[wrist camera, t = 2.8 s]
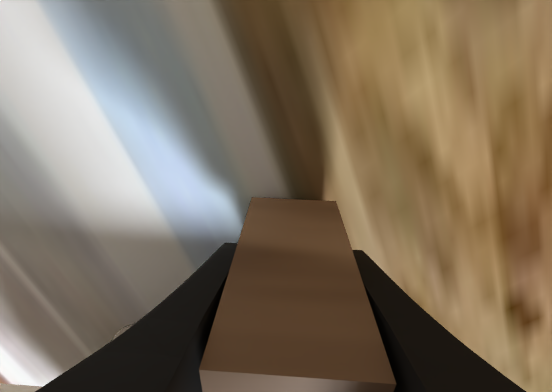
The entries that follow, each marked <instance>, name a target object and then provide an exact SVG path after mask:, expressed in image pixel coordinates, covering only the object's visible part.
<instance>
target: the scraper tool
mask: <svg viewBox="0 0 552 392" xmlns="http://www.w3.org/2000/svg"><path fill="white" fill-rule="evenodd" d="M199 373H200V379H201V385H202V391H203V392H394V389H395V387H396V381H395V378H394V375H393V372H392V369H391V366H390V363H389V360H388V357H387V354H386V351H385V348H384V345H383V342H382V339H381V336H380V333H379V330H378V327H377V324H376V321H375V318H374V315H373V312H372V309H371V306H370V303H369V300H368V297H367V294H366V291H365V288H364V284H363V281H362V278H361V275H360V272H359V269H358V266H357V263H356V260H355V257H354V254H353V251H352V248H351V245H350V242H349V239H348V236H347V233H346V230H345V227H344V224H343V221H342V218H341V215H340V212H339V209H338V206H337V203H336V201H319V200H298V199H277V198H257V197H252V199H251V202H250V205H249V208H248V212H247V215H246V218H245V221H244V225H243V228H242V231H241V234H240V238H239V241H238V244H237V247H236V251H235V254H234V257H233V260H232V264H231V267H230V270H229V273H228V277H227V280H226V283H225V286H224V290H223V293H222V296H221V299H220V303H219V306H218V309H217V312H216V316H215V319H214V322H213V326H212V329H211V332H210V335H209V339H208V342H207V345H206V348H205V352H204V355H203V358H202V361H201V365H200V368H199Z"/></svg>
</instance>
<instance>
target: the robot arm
mask: <svg viewBox="0 0 552 392" xmlns="http://www.w3.org/2000/svg"><path fill="white" fill-rule="evenodd" d="M236 247H237V243H224V244H223V245H222V246H221V247H220V248H219V249H218V250H217V251H216V252H215V253H214V254H213V255H212V256H211V257H210V258H209V259H208V260H207V261H206V262H205V263H204V264H203V265H202V266H201V267H200V268H199V269H198V270H197V271H196V272H195V273H194V274H193V275H191V276H190V277H189V278H188V279H187V280H186V281H185V282H184V283H183V284H182V285H181V286H180V287H179V288H177V289H176V290H175V291H174V292H173V293H172V294H171V295H169V296H168V297H167V298H166V299H165V300H163V301H162V302H161V303H160V304H159V305H158V306H156V307H155V308H154V309H153V310H152V311H150V312H149V313H148V314H147V315H146V316H144V317H143V318H142V319H140V320H139V321H138V322H137V323H135V324H134V325H133V326H131V327H130V328H129V329H127V330H126V331H125V332H123V333H122V334H121V335H119V336H118V337H117V338H115V339H114V340H112V341H111V342H110V343H108V344H107V345H105V346H104V347H103V348H101V349H100V350H98V351H97V352H95V353H94V354H92V355H91V356H89V357H88V358H86V359H84V360H83V361H81V362H80V363H78V364H77V365H75V366H74V367H72V368H71V369H69V370H68V371H66V372H65V373H63V374H62V375H60V376H59V377H57V378H55V379H54V380H52V381H51V382H49V383H48V384H46V385H45V386H43V387H42V388H40V389H38V390H37V391H35V392H203V391H202V385H201V379H200V373H199V368H200V365H201V361H202V358H203V355H204V352H205V348H206V345H207V342H208V339H209V335H210V332H211V329H212V326H213V322H214V319H215V316H216V312H217V309H218V306H219V303H220V299H221V296H222V293H223V290H224V286H225V283H226V280H227V277H228V273H229V270H230V267H231V264H232V260H233V257H234V254H235V251H236ZM352 251H353V254H354V257H355V260H356V263H357V266H358V269H359V272H360V275H361V278H362V281H363V284H364V288H365V291H366V294H367V297H368V300H369V303H370V306H371V309H372V312H373V315H374V318H375V321H376V324H377V327H378V330H379V333H380V336H381V339H382V342H383V345H384V348H385V351H386V354H387V357H388V360H389V363H390V366H391V369H392V372H393V375H394V378H395V381H396V387H395V389H394V392H526V391H524V390H523V389H522V388H520V387H519V386H518V385H516V384H515V383H513V382H512V381H511V380H509V379H508V378H507V377H505V376H504V375H503V374H501V373H500V372H499V371H498V370H496V369H495V368H494V367H492V366H491V365H490V364H488V363H487V362H486V361H485V360H483V359H482V358H481V357H479V356H478V355H477V354H476V353H474V352H473V351H472V350H470V349H469V348H468V347H467V346H465V345H464V344H463V343H462V342H460V341H459V340H458V339H457V338H456V337H454V336H453V335H452V334H451V333H450V332H448V331H447V330H446V329H445V328H444V327H443V326H442V325H440V324H439V323H438V322H437V321H436V320H435V319H433V318H432V317H431V316H430V315H429V314H428V313H427V312H425V311H424V310H423V309H422V308H421V307H420V306H419V305H418V304H417V303H416V302H414V301H413V300H412V299H411V298H410V297H409V296H408V295H407V294H406V293H405V292H404V291H403V290H402V289H401V288H400V287H399V286H398V285H397V284H396V283H395V282H394V281H393V280H392V279H391V278H390V277H389V276H388V275H387V274H386V273H385V272H384V271H383V270H382V269H381V268H380V267H379V266H378V265H377V264H376V263H375V262H374V261H373V260H372V259H371V258H370V257H369V256H368V255H367V254H366V253H364V252H363V251H362V250H352Z"/></svg>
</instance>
